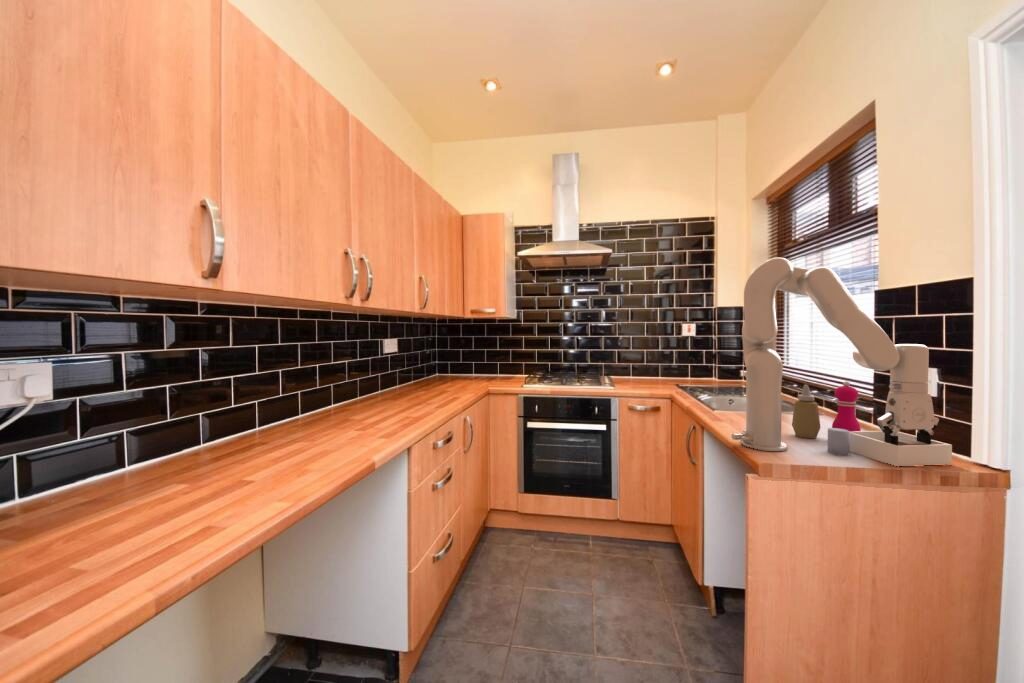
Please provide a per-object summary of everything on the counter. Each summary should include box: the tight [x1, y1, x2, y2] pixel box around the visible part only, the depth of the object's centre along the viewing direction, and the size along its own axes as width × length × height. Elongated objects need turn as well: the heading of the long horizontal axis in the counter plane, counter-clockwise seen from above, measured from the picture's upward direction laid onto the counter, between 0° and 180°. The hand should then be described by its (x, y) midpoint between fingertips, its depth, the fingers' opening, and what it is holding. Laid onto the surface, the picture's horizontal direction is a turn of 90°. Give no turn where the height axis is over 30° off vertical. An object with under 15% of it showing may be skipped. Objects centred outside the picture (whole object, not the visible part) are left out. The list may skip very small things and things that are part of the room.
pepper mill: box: [831, 380, 862, 432], centre depth 129 cm, size 7×7×20 cm
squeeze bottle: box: [791, 384, 821, 439], centre depth 136 cm, size 8×8×18 cm
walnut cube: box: [898, 439, 927, 446], centre depth 110 cm, size 5×5×5 cm
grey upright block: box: [827, 427, 850, 457], centre depth 118 cm, size 5×5×7 cm
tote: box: [849, 430, 953, 468], centre depth 113 cm, size 16×16×6 cm
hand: (907, 448), depth 110 cm, fingers open, 9 cm apart
